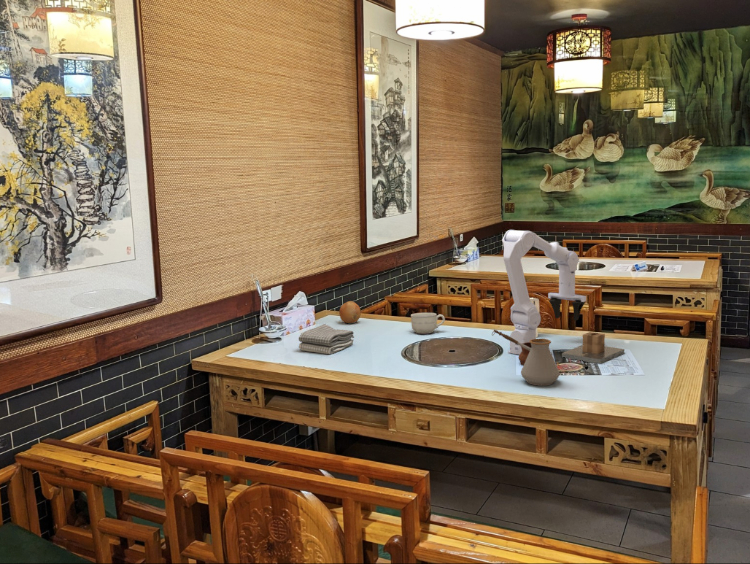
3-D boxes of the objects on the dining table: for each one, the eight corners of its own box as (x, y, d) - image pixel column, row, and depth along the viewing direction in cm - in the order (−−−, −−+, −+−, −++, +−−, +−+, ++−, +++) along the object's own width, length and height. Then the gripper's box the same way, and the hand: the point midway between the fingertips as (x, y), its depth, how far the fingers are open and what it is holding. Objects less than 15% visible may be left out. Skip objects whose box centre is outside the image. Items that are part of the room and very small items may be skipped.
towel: (297, 352, 254) (296, 332, 252) (324, 342, 269) (323, 322, 268) (331, 356, 246) (330, 335, 245) (356, 345, 262) (356, 325, 261)
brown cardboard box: (590, 348, 238) (590, 331, 237) (604, 350, 234) (604, 333, 233) (582, 351, 234) (582, 333, 233) (597, 353, 230) (597, 336, 229)
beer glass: (541, 338, 262) (541, 300, 260) (523, 338, 262) (523, 300, 260) (537, 334, 269) (537, 297, 267) (519, 334, 269) (519, 298, 267)
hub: (599, 363, 223) (600, 347, 222) (561, 357, 233) (562, 341, 232) (624, 353, 235) (624, 337, 235) (587, 347, 245) (587, 332, 245)
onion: (352, 320, 310) (351, 298, 309) (365, 323, 303) (364, 301, 302) (335, 323, 304) (334, 301, 303) (348, 326, 297) (347, 304, 295)
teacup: (408, 335, 276) (407, 316, 275) (414, 329, 286) (414, 311, 285) (441, 336, 272) (441, 316, 271) (446, 330, 282) (446, 311, 281)
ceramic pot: (559, 358, 232) (559, 338, 231) (559, 373, 215) (558, 351, 214) (507, 357, 237) (506, 338, 236) (502, 371, 220) (501, 351, 219)
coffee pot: (564, 379, 207) (565, 332, 205) (552, 389, 197) (552, 339, 195) (499, 371, 218) (499, 325, 216) (485, 380, 209) (484, 332, 207)
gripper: (590, 283, 247) (589, 319, 249) (555, 280, 257) (555, 315, 259) (580, 285, 242) (580, 322, 244) (545, 282, 252) (545, 317, 254)
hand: (566, 318), depth 251 cm, fingers open, 7 cm apart
